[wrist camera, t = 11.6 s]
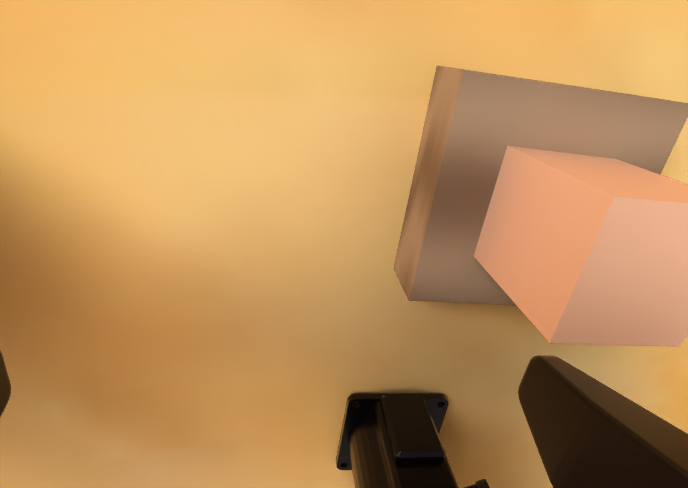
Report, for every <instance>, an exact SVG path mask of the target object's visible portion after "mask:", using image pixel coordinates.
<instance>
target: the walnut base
mask: <svg viewBox="0 0 688 488" xmlns="http://www.w3.org/2000/svg"><path fill="white" fill-rule="evenodd" d="M687 117H688V103H682V102H676V101H669V100H663V99H656V98H650V97H644V96H637V95H630V94H624V93H617V92H610V91H603V90H597V89H590V88H583V87H577V86H570V85H563V84H556V83H550V82H543V81H536V80H530V79H523V78H516V77H509V76H503V75H496V74H489V73H483V72H476V71H469V70H462V69H456V68H449V67H442V66H437V68H436V73H435V78H434V82H433V87H432V92H431V96H430V101H429V106H428V110H427V115H426V120H425V124H424V129H423V134H422V139H421V143H420V148H419V153H418V157H417V162H416V167H415V171H414V176H413V181H412V185H411V190H410V195H409V200H408V204H407V209H406V214H405V218H404V223H403V228H402V232H401V237H400V242H399V246H398V251H397V256H396V261H395V265H394V270H395V273H396V275H397V277H398V279H399V281H400V283H401V285H402V287H403V289H404V291H405V293H406V295H407V298H408V300H409V301H430V302H454V303H477V304H501V305H516V304H515V303H514V302H513V301H512V299H511V298H510V297H509V296H508V295H507V294H506V293H505V292H504V290H503V289H502V288H501V287H500V286H499V285H498V284H497V282H496V281H495V280H494V279H493V278H492V277H491V276H490V274H489V273H488V272H487V271H486V270H485V269H484V268H483V266H482V265H481V264H480V263H479V262H478V261H477V260H476V259H475V257H474V253H475V250H476V247H477V243H478V240H479V237H480V233H481V230H482V227H483V224H484V220H485V217H486V214H487V211H488V207H489V204H490V201H491V198H492V194H493V191H494V188H495V185H496V181H497V178H498V175H499V171H500V168H501V165H502V162H503V158H504V155H505V152H506V149H507V146H513V147H521V148H529V149H538V150H546V151H554V152H563V153H571V154H579V155H588V156H596V157H604V158H613V159H617V160H620V161H623V162H626V163H629V164H631V165H634V166H637V167H640V168H643V169H645V170H648V171H651V172H654V173H657V174H661V172H662V170H663V168H664V166H665V163H666V161H667V159H668V157H669V155H670V153H671V151H672V149H673V147H674V145H675V142H676V140H677V138H678V136H679V134H680V132H681V130H682V128H683V126H684V124H685V121H686V119H687Z"/></svg>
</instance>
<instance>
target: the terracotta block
mask: <svg viewBox="0 0 688 488" xmlns="http://www.w3.org/2000/svg"><path fill="white" fill-rule="evenodd" d="M474 257H475V259H476V260H477V261H478V262H479V263H480V264H481V265H482V266H483V268H484V269H485V270H486V271H487V272H488V273H489V274H490V276H491V277H492V278H493V279H494V280H495V281H496V282H497V284H498V285H499V286H500V287H501V288H502V289H503V290H504V292H505V293H506V294H507V295H508V296H509V297H510V298H511V299H512V301H513V302H514V303H515V304H516V305H517V306H518V307H519V309H520V310H521V311H522V312H523V313H524V314H525V315H526V317H527V318H528V319H529V320H530V321H531V322H532V323H533V325H534V326H535V327H536V328H537V329H538V330H539V331H540V332H541V334H542V335H543V336H544V337H545V338H546V339H547V340H548V342H549V343H561V344H597V345H633V346H669V347H680V346H681V345H682V343H683V341H684V340H685V338H686V336H687V335H688V184H685V183H682V182H679V181H676V180H674V179H671V178H668V177H665V176H662V175H660V174H657V173H654V172H651V171H648V170H645V169H643V168H640V167H637V166H634V165H631V164H629V163H626V162H623V161H620V160H617V159H613V158H604V157H596V156H588V155H579V154H571V153H563V152H554V151H546V150H538V149H529V148H521V147H513V146H507V149H506V152H505V155H504V158H503V162H502V165H501V168H500V171H499V175H498V178H497V181H496V185H495V188H494V191H493V194H492V198H491V201H490V204H489V207H488V211H487V214H486V217H485V220H484V224H483V227H482V230H481V233H480V237H479V240H478V243H477V247H476V250H475V253H474Z"/></svg>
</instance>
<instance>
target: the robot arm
mask: <svg viewBox="0 0 688 488" xmlns="http://www.w3.org/2000/svg"><path fill="white" fill-rule="evenodd" d="M10 393H11V384H10V380H9V377H8V373H7V370H6V366H5V362H4V359H3V355H2V352H1V350H0V417H1V415H2V413H3V411H4V409H5V407H6V405H7V403H8V401H9V398H10ZM518 395H519V400H520V403H521V406H522V409H523V411H524V414H525V417H526V419H527V422H528V425H529V427H530V430H531V433H532V435H533V438H534V440H535V443H536V446H537V448H538V451H539V454H540V456H541V459H542V462H543V464H544V467H545V469H546V472H547V474H548V477H549V479H550V481H551V484H552V486H553V488H688V434H687V433H685V432H684V431H682V430H680V429H678V428H677V427H675V426H673V425H672V424H670V423H668V422H667V421H665V420H663V419H662V418H660V417H658V416H656V415H655V414H653V413H651V412H650V411H648V410H646V409H645V408H643V407H641V406H640V405H638V404H636V403H634V402H633V401H631V400H629V399H628V398H626V397H624V396H623V395H621V394H619V393H617V392H616V391H614V390H612V389H611V388H609V387H607V386H606V385H604V384H602V383H601V382H599V381H597V380H595V379H594V378H592V377H590V376H589V375H587V374H585V373H584V372H582V371H580V370H579V369H577V368H575V367H573V366H572V365H570V364H568V363H567V362H565V361H563V360H562V359H560V358H558V357H555V356H534V357H533V358H532V359H531V360H530V362H529V364H528V367H527V369H526V371H525V374H524V376H523V378H522V381H521V383H520V386H519V391H518ZM354 402H357V403H354ZM447 407H448V400H447V398H446V396H445V395H444V394H353V395H351V396H349V397H348V399H347V404H346V409H345V414H344V420H343V425H342V430H341V436H340V441H339V446H338V452H337V457H336V464H337V468H338V469H340V470H352V471H353V477H354V484H355V488H459V487H458V484H457V482H456V479H455V477H454V474H453V471H452V469H451V466H450V464H449V461H448V459H447V456H446V453H445V449H444V447H443V444H442V442H441V439H440V437H439V431H440V428H441V425H442V422H443V419H444V416H445V413H446V410H447ZM475 483H476V484H474V485H471V486H467V487H464V488H490V487H489V485H488V483H487V481H486V480H485V479H483V480H479V481H476V482H475Z"/></svg>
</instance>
